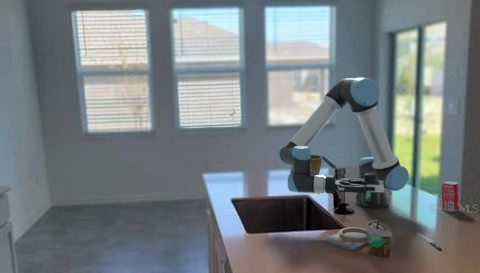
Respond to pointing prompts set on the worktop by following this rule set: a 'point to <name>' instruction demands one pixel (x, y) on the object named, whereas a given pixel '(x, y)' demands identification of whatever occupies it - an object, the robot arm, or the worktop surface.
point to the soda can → (450, 196)
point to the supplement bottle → (370, 197)
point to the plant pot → (316, 163)
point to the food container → (378, 239)
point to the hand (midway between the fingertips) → (383, 186)
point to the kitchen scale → (349, 238)
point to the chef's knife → (429, 241)
